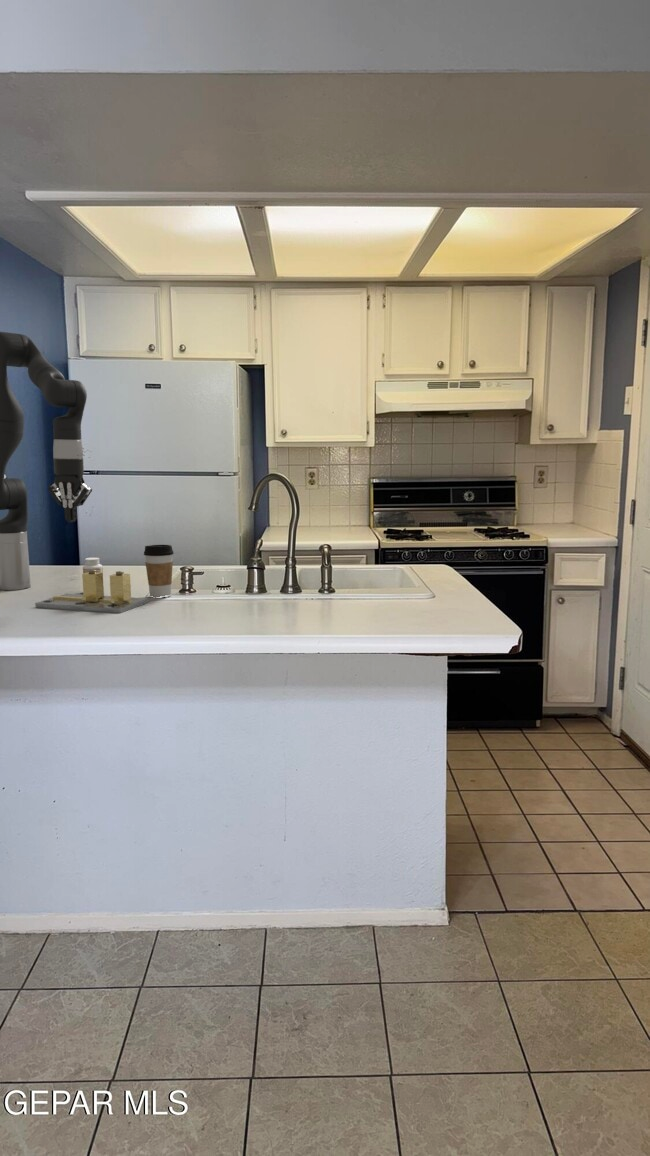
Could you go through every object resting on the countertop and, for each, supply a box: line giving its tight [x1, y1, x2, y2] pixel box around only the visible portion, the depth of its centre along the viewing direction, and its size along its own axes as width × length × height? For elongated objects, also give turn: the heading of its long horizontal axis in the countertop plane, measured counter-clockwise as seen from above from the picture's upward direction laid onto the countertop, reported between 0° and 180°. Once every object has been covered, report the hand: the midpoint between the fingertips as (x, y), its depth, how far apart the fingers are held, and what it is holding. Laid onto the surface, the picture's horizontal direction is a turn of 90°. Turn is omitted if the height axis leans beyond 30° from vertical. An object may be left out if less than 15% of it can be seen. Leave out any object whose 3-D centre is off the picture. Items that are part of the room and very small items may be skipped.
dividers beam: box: [52, 570, 133, 605], centre depth 208 cm, size 24×6×8 cm, turn 73°
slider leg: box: [81, 570, 105, 602], centre depth 208 cm, size 4×6×8 cm, turn 163°
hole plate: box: [34, 593, 149, 614], centre depth 210 cm, size 26×14×1 cm, turn 73°
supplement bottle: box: [82, 557, 104, 587], centre depth 227 cm, size 6×6×10 cm
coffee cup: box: [143, 544, 175, 597], centre depth 221 cm, size 8×8×15 cm
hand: (71, 521), depth 208 cm, fingers closed
